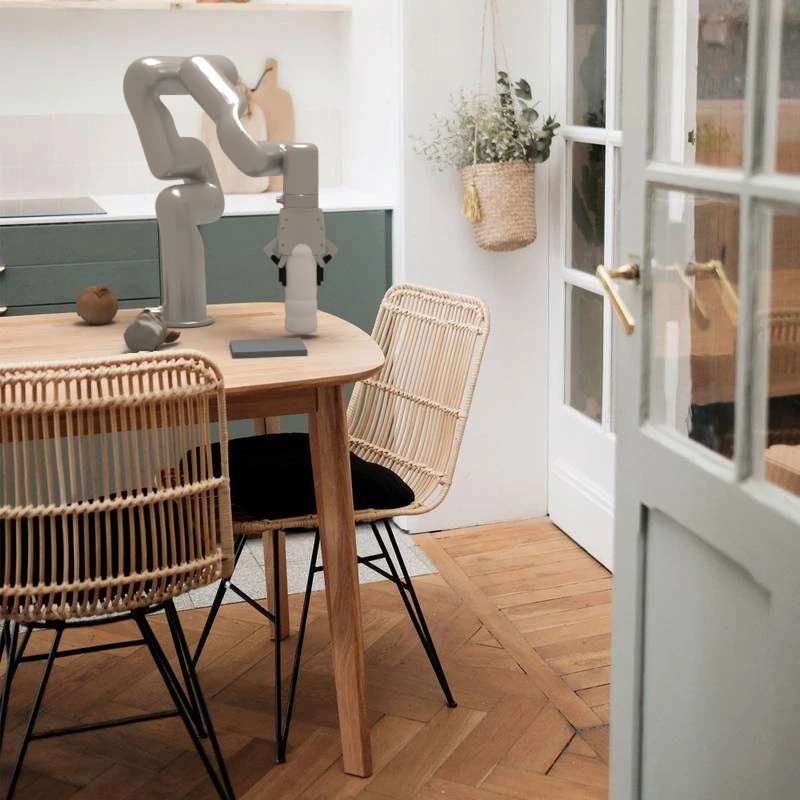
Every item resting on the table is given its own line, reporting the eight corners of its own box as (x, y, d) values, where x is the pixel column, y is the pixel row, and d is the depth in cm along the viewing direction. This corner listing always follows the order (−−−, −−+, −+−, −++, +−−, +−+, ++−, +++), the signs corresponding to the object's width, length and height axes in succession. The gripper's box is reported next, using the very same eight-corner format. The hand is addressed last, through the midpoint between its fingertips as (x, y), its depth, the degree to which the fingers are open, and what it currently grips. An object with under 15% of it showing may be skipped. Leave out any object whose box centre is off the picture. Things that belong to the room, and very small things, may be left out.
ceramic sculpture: (110, 312, 260) (134, 304, 275) (111, 354, 262) (135, 344, 276) (161, 313, 259) (183, 305, 274) (162, 356, 261) (183, 346, 275)
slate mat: (233, 358, 258) (232, 352, 258) (229, 345, 271) (229, 340, 270) (307, 355, 261) (307, 349, 261) (300, 343, 273) (300, 337, 273)
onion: (111, 337, 296) (121, 301, 291) (70, 328, 293) (79, 291, 288) (114, 316, 303) (123, 280, 298) (73, 307, 301) (82, 271, 296)
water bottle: (312, 335, 276) (312, 218, 270) (280, 333, 277) (279, 217, 271) (321, 328, 283) (320, 214, 276) (290, 327, 284) (289, 213, 278)
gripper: (261, 204, 268) (262, 288, 272) (343, 203, 271) (343, 287, 275) (258, 200, 275) (259, 282, 279) (338, 200, 278) (338, 281, 282)
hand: (301, 284), depth 277 cm, fingers closed on water bottle, 6 cm apart
